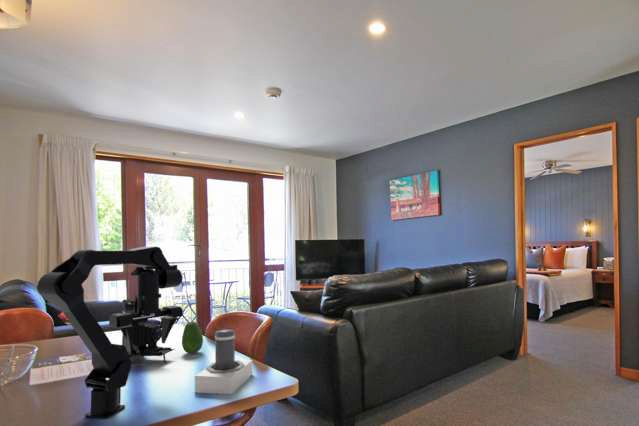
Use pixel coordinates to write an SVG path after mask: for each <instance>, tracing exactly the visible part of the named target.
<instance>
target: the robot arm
mask: <svg viewBox="0 0 639 426" xmlns="http://www.w3.org/2000/svg"><path fill="white" fill-rule="evenodd" d="M103 265H104V266H107V265H109V266H111V265H129V266H133V267H134V266H135V269H134V270H133V271H132V272H131V273H130V276H132V277H134V276H135V277H137V278H136V279H137V282H136V283H137V285H136V286H137V288H136V289H137V290H136V291H137V292H136V294H134V295H135V296H134V300H131V299H130V298H126V299H123V300H122V301H121V311H122V312H120V313H112V314H111V315H110V316H109V321H108V325H109V326H112V327H114V328H115V329H119V330H120V331H121V334H122V336H123V335H124V337H125V340H126V343H127V345H128V348H129V350H130V351H131V350H132V349H133V335H134V326H132V325H131V323H132V322H133V321H138V320H144V319H148V320H149V319H154V318H160V322H162V329H161V330H162V336H161V338H160V340H161V343H162V344H165V343H166V341H167V339H168V337H169V335H170V332H171V330H172V329H173V327H174V325H175V323H176V321H179V319H180V317H183V316H184V310H183V308H182V307H181V306H179V305H167V306H162V308H160V298H162V293H160V289H162V290H163V289H168V288H176V287H178V286H180V285H181V284H182V281H183V274H182V272H181V270H180V269H179V268H178V264H170V263H169V261H168V260H167V259H166V257H165V255H164V252H163V250H162V249H161V247H159V246H139V247H134V248H130V249H128V250H127V249H126V250H94V249H80V250H78V251H77V250H76V251H75V252H74V253H73V254H72V255H71V256H70V257H69V258H68V259H66V260H65V261H63V262H61V263H60V264H58V265H57V266H55V267H54V268H53V269H52V270H50V272H48V273H45V274H43V275H42V276H41V277H40V279H39V280H38V281H37V285H36V289H37V292H38V294H39V295H40V296H41V297H42V298H43V299H44V300H45V301H47V303H49V304H50V305H52V306H53V307H56V309H58V310H60V312H62V313H63V315H64V317H65V318H66V319H67V321H68V322H69V323H70V325H71V327H72V328H73V329H74V331H75V332H76V333H77V335H78V336H79V338H80V339H81V341H82V342H83V344H84V345H85V346H86V348H87V350H88V351H89V352H90V354H91V366H92V369H91V371H90V373H89V374H88V375H87V376H86V377H85V379H84V380H83V381H84V385H85V387H86V388H88V389H89V388H90V389H92V390H91V391H90V411H88V412H87V413H85V414H84V417H85V418H95V419H96V418H98V419H109V418H110V417H112V416H113V415H115V414H117V413H118V412H120V411H121V410H123V409H125V408H126V405H124V404H121V394H122V392H121V391H122V390H121V389H122V388H123V387H125V386H126V385H127V381H128V379H129V375H130V371H131V369H132V366H133V362H132V361H131V359H130V358H131V357H132V356H131V355H130V354H129V353H128V352H127V349H126V347H125V346H124V345H122V344H117V343H112V342H111V341H110V339H109V337H108V336H107V334H106V332H105V331H104V330H103V328H102V327H101V325H100V324H99V322H98V320H97V319H96V318H95V315H93V313H92V311H91V310H90V308H89V306H88V305H87V303H86V302H85V298H84V297H85V296H84V295H85V289H84V287H83V283H85V282H86V280H87V279H88V278H89V276H90V274H91V272H92V269H93V268H94V267H95V266H103ZM126 311H129V313H124V312H126ZM136 313H137V314H136ZM141 315H142V316H141Z"/></svg>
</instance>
